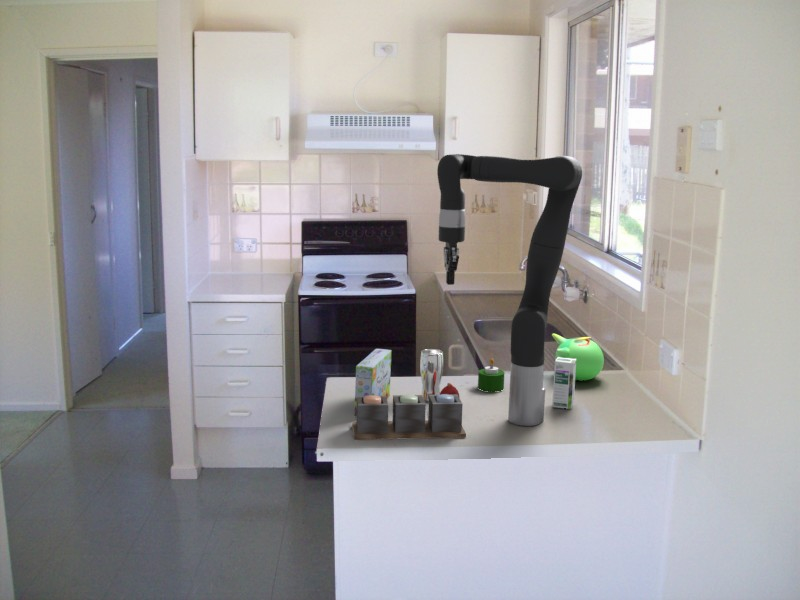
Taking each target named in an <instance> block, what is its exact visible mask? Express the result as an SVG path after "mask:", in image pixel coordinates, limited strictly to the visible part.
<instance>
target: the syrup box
mask: <svg viewBox="0 0 800 600" xmlns="http://www.w3.org/2000/svg"><path fill="white" fill-rule="evenodd" d="M553 368H554V370H553V371H554V373H553V392H552V402H551V403H552V404H551V406H552V408H559V409H564V408H566V410H572V407H573V406H572V405H574V400H575V386H576V380H575V372H576V359H570V358H561V357H558V358H557V359H556V360H555V361H554V367H553Z"/></svg>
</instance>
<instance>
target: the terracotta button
mask: <svg viewBox="0 0 800 600" xmlns="http://www.w3.org/2000/svg"><path fill="white" fill-rule="evenodd" d="M363 404H381V397H380V396H376V395H369V396H365V397H364V398H363Z"/></svg>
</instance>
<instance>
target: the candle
mask: <svg viewBox="0 0 800 600" xmlns="http://www.w3.org/2000/svg"><path fill="white" fill-rule="evenodd" d="M494 365H495V360H494V358H490V359H489V366H485V367H484V368H482V369H479V370H478V375H477V378H478V379H477V389H478V388H479V389H481V390H483V391H482V392H484V391H488V392H487V393H496V392H495V391H501V390H503V389H504V390H505V371H503V370H501V369H500V368H499V367H497V366H494ZM479 389H478V390H479ZM481 390H480V391H481ZM504 390H503V391H504ZM501 392H502V391H501Z"/></svg>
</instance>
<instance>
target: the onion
mask: <svg viewBox="0 0 800 600" xmlns="http://www.w3.org/2000/svg"><path fill="white" fill-rule="evenodd" d="M441 394H448V395H453V394H457V395H458V397H459V398H460V394H459V391H458V389H457V387H455V386H454V385H453V384H452V383H451V382H448V383H447V385H446V386H444V387H443V388H442V389H441V390H440V395H441Z"/></svg>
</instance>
